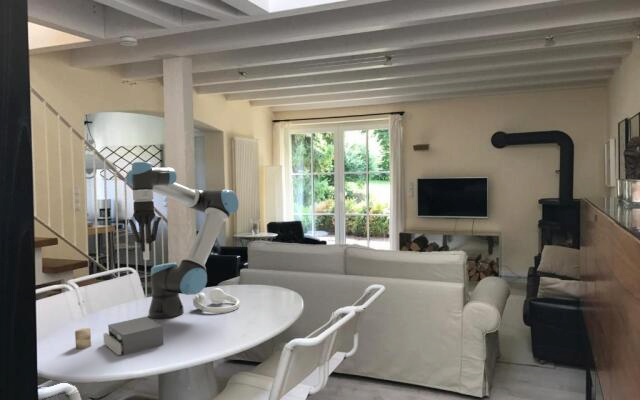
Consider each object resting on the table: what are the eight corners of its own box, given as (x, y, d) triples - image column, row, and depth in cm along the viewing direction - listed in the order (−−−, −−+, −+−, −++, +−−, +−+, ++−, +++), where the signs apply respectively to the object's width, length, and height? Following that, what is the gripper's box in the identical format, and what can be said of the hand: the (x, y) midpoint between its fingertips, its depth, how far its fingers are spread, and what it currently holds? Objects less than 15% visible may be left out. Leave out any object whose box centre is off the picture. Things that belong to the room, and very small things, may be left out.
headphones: (187, 310, 211) (218, 320, 201) (188, 293, 211) (219, 302, 200) (218, 300, 228) (248, 309, 217) (218, 284, 227) (248, 292, 217)
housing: (146, 333, 179) (145, 316, 179) (163, 344, 167) (162, 325, 166) (108, 343, 170) (107, 324, 170) (123, 355, 157) (122, 335, 157)
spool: (74, 346, 168) (73, 330, 168) (89, 342, 171) (88, 327, 171) (77, 349, 164) (76, 333, 164) (92, 346, 167) (91, 330, 167)
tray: (141, 334, 178) (140, 324, 178) (157, 344, 165) (157, 334, 165) (103, 343, 169) (103, 333, 169) (118, 355, 156) (117, 344, 156)
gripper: (129, 201, 173) (133, 262, 174) (163, 200, 181) (166, 258, 182) (123, 201, 178) (126, 260, 179) (156, 199, 187) (158, 256, 188)
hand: (146, 259), depth 181 cm, fingers closed
